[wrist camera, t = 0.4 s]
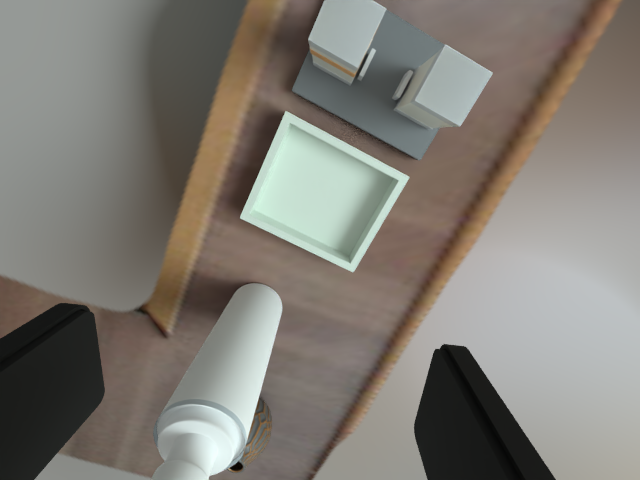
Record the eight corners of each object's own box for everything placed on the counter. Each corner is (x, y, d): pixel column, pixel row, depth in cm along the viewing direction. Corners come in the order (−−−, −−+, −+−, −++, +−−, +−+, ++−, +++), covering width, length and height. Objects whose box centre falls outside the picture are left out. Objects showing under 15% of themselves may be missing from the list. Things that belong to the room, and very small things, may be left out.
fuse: (415, 69, 29) (445, 44, 22) (451, 89, 30) (492, 73, 22) (393, 110, 31) (414, 100, 23) (428, 129, 31) (460, 126, 24)
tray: (289, 113, 32) (285, 110, 30) (402, 173, 34) (409, 177, 31) (246, 211, 36) (239, 218, 33) (351, 262, 38) (353, 272, 35)
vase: (230, 384, 44) (207, 442, 36) (277, 391, 44) (266, 450, 36) (227, 420, 46) (205, 482, 38) (272, 427, 46) (260, 490, 38)
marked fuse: (332, 20, 28) (334, -23, 21) (371, 43, 29) (386, 8, 21) (313, 65, 30) (308, 39, 22) (350, 86, 30) (357, 67, 22)
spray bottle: (259, 336, 41) (165, 602, 18) (221, 304, 40) (63, 547, 16) (293, 306, 40) (241, 554, 16) (254, 272, 38) (135, 488, 15)
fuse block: (337, -12, 29) (339, -32, 26) (470, 68, 31) (487, 59, 27) (293, 92, 32) (289, 87, 28) (416, 159, 34) (426, 161, 30)
